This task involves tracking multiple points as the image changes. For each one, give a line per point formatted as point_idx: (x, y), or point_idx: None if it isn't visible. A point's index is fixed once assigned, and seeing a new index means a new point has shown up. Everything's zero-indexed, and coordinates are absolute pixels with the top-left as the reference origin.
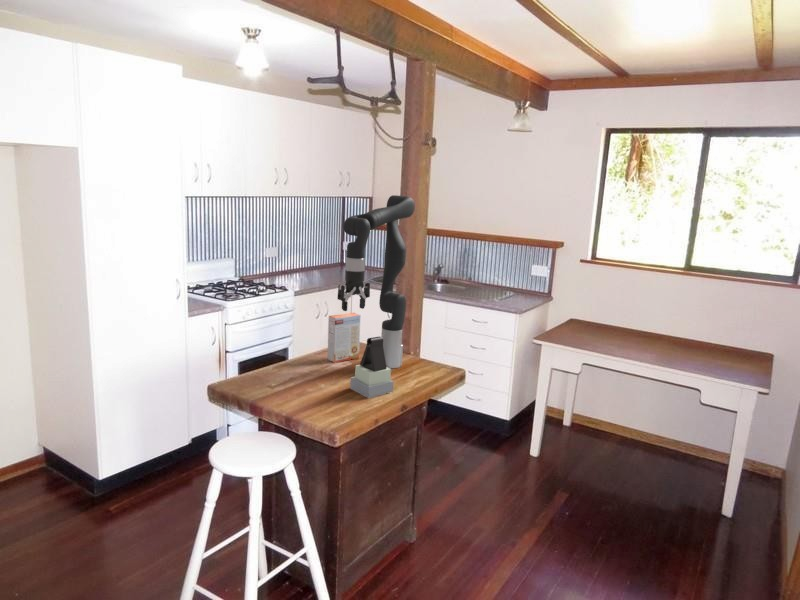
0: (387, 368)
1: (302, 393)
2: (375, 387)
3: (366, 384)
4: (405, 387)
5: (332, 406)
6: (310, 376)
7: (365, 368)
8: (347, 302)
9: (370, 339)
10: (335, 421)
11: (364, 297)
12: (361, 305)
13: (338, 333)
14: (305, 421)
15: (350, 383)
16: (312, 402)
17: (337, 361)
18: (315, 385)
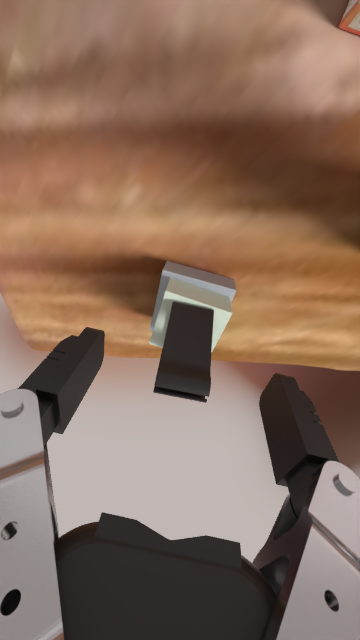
0: None
1: (58, 197)
2: None
3: (155, 319)
4: (251, 337)
5: (75, 293)
6: (153, 97)
7: (166, 320)
8: (65, 427)
9: (154, 389)
10: (47, 330)
11: (295, 521)
12: (272, 408)
13: None
14: (5, 299)
15: (165, 265)
16: (53, 253)
17: (355, 32)
18: (116, 179)
